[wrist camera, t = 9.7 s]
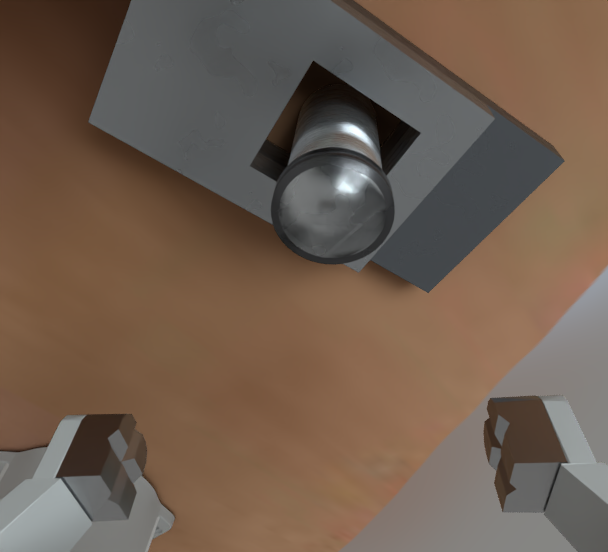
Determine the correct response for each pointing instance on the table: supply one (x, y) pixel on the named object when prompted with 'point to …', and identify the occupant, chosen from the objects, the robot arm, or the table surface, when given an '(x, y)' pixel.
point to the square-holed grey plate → (277, 92)
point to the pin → (334, 181)
